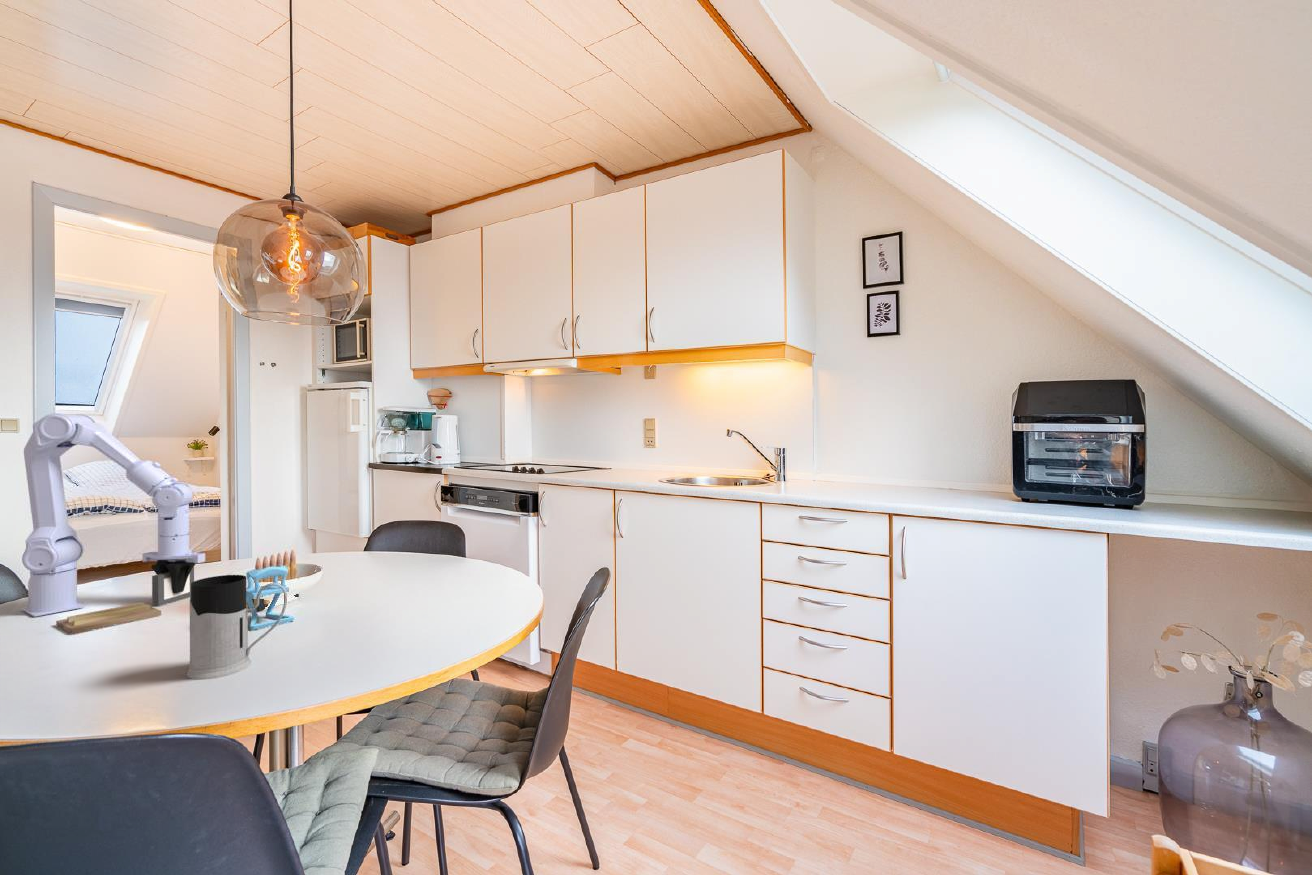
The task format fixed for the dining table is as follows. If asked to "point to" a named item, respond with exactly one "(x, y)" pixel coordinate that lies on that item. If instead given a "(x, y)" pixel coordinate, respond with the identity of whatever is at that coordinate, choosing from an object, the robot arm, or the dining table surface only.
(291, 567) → the ammunition clip
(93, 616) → the board
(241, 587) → the glass holder
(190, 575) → the grey upright slab
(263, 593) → the chair
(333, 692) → the dining table surface
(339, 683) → the dining table surface
